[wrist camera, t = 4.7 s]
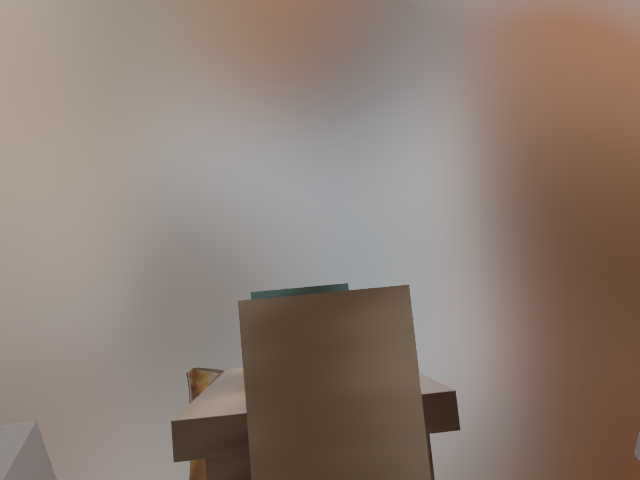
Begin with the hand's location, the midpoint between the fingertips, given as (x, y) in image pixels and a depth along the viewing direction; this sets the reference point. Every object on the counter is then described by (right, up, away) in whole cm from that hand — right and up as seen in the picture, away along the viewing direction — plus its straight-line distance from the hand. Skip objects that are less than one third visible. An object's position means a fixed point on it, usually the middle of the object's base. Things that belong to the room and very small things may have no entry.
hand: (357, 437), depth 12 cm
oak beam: (-1, -2, +12) cm, 12 cm away
